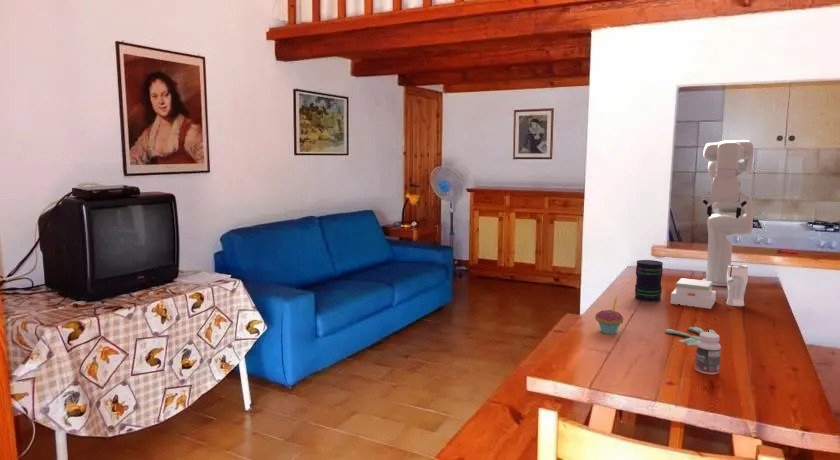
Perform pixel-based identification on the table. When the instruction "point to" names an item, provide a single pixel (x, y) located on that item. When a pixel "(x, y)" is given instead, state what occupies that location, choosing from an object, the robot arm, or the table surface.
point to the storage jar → (648, 280)
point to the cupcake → (609, 320)
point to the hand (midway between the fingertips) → (723, 217)
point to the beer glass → (736, 284)
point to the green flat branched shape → (690, 339)
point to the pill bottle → (708, 353)
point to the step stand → (694, 293)
